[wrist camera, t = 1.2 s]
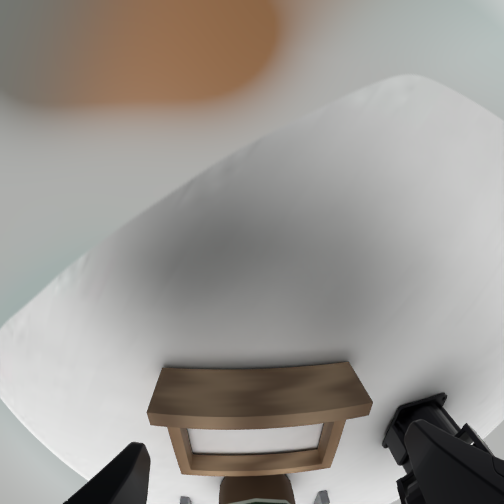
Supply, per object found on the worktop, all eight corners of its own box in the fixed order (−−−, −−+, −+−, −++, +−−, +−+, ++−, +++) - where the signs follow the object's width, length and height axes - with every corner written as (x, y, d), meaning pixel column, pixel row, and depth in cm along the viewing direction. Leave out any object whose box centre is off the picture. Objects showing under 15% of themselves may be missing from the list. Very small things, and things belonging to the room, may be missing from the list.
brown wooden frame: (348, 361, 20) (373, 402, 15) (325, 453, 23) (337, 490, 18) (162, 367, 19) (146, 412, 15) (183, 459, 22) (178, 498, 17)
